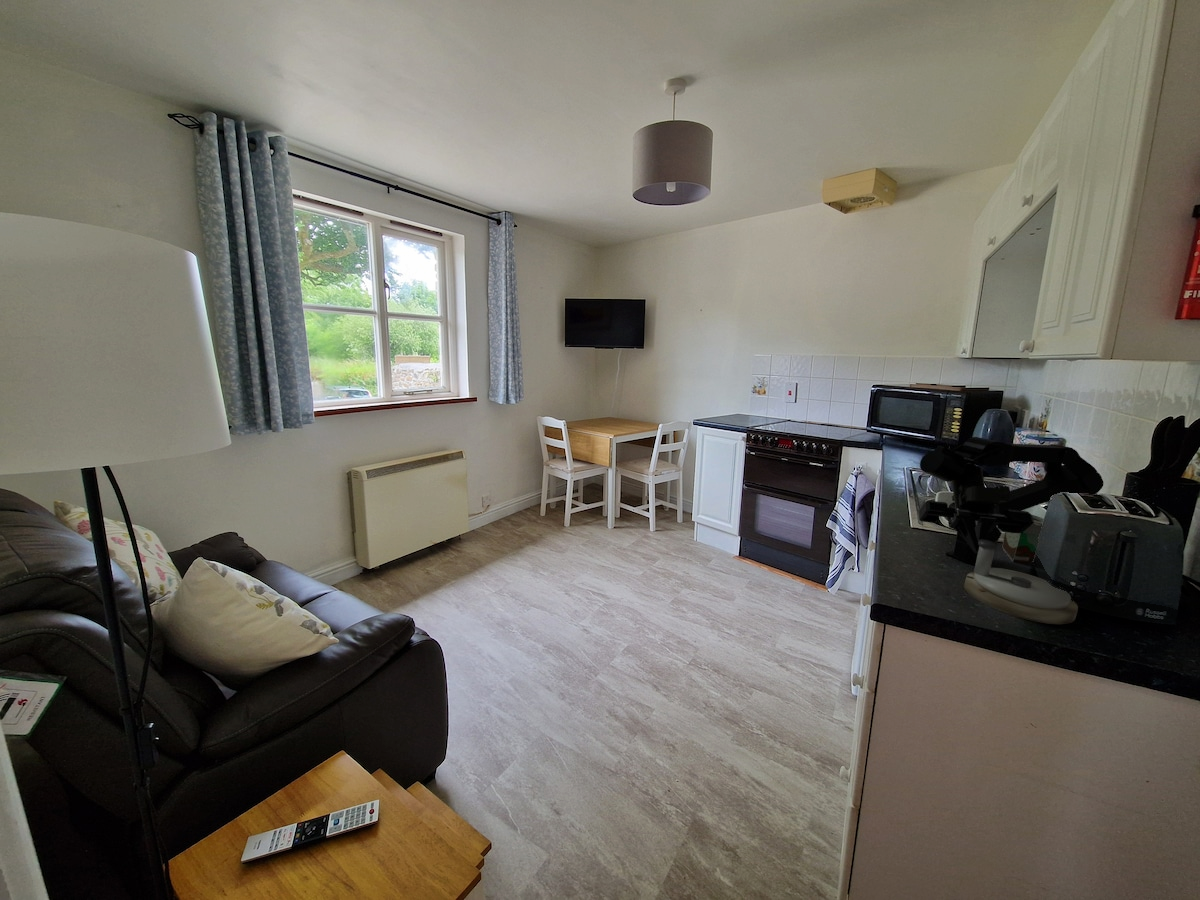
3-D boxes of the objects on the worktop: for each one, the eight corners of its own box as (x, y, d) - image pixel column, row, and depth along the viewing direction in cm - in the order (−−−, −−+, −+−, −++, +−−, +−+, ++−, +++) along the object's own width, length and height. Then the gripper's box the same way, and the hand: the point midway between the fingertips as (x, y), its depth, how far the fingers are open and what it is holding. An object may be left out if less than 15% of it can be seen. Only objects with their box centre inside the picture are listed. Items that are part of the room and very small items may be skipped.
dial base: (990, 574, 100) (992, 565, 100) (1092, 612, 86) (1095, 602, 85) (947, 588, 94) (949, 578, 93) (1049, 632, 79) (1052, 621, 79)
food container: (1049, 571, 103) (1060, 530, 100) (1014, 564, 106) (1024, 524, 103) (1031, 551, 113) (1041, 513, 111) (1000, 545, 116) (1008, 509, 114)
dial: (996, 567, 98) (1004, 533, 97) (1083, 600, 86) (1094, 560, 84) (958, 579, 93) (966, 543, 91) (1047, 615, 80) (1058, 574, 78)
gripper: (931, 465, 99) (937, 530, 92) (1039, 475, 92) (1056, 545, 85) (916, 490, 108) (920, 550, 100) (1014, 500, 101) (1027, 566, 94)
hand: (978, 552), depth 94 cm, fingers closed
